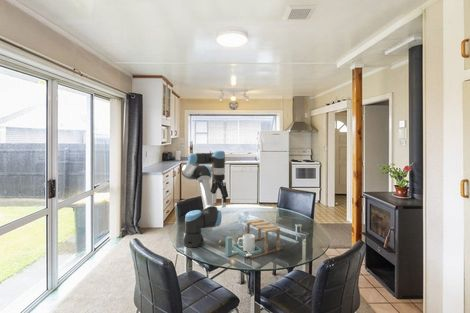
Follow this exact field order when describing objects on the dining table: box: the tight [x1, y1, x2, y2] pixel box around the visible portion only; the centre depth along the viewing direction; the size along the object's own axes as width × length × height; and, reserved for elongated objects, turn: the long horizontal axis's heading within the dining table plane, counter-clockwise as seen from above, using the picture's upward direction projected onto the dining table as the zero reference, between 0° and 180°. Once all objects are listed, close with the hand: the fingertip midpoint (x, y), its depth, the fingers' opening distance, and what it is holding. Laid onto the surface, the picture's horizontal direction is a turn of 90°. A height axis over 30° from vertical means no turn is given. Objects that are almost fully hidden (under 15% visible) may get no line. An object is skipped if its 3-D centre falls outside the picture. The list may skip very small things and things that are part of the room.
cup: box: [236, 233, 256, 253], centre depth 180 cm, size 8×12×10 cm
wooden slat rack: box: [246, 218, 284, 259], centre depth 184 cm, size 23×28×16 cm
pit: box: [268, 238, 287, 248], centre depth 194 cm, size 14×7×1 cm, turn 32°
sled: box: [224, 235, 264, 258], centre depth 177 cm, size 18×23×12 cm
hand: (218, 205), depth 177 cm, fingers open, 13 cm apart
